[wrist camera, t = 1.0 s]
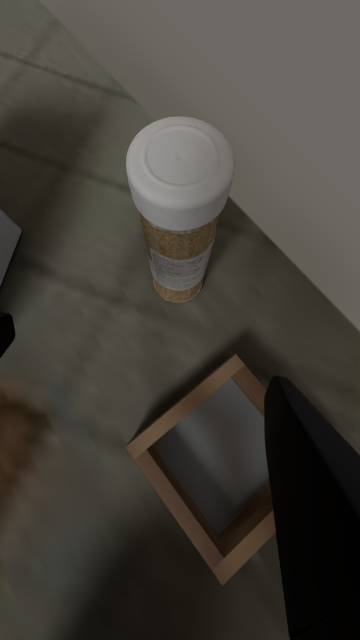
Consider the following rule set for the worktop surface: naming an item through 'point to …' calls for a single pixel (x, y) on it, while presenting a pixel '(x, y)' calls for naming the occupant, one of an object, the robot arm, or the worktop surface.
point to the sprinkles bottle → (179, 198)
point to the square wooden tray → (213, 466)
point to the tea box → (7, 241)
